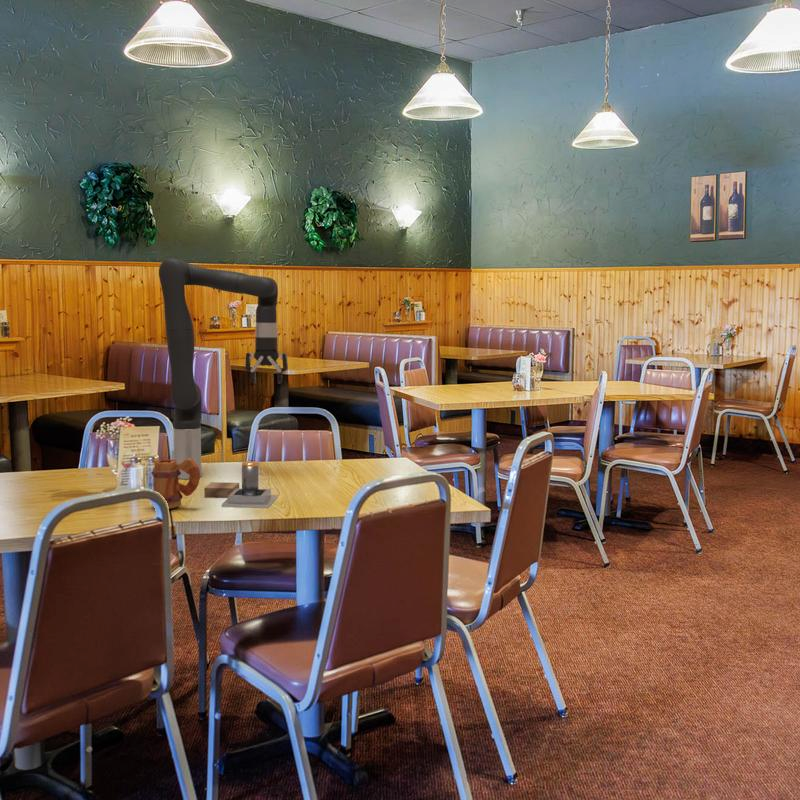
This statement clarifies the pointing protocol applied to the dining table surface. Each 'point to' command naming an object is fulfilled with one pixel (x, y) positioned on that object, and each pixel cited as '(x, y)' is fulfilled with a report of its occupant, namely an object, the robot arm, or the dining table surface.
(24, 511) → the dining table surface
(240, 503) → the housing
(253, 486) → the grey metal cylinder
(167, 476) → the mug
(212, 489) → the stand
